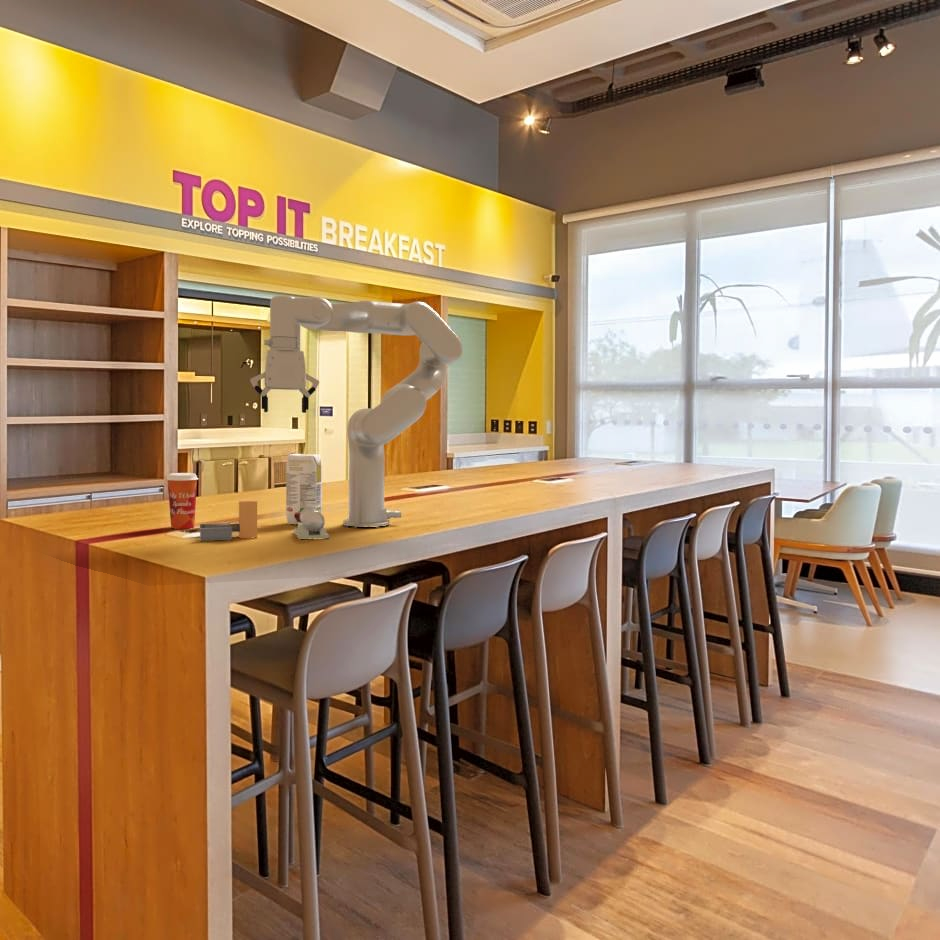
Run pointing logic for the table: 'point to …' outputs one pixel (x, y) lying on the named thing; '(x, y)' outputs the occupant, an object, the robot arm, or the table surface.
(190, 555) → the table surface
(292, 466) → the juice carton
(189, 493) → the paper cup
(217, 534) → the channel block
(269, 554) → the table surface
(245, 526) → the grey base tan upright
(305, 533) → the cradle
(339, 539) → the table surface
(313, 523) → the axle
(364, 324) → the robot arm
